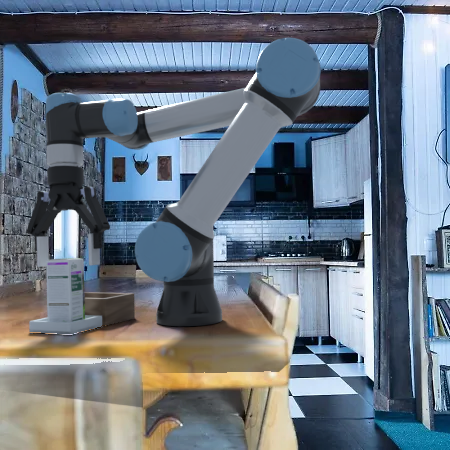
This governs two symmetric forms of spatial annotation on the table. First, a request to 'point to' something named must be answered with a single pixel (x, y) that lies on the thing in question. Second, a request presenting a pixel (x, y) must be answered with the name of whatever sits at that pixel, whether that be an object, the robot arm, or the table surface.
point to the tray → (65, 325)
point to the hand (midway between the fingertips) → (68, 265)
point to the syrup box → (65, 289)
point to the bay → (110, 306)
